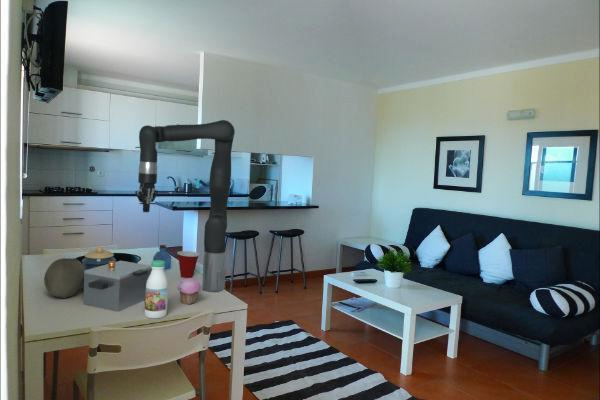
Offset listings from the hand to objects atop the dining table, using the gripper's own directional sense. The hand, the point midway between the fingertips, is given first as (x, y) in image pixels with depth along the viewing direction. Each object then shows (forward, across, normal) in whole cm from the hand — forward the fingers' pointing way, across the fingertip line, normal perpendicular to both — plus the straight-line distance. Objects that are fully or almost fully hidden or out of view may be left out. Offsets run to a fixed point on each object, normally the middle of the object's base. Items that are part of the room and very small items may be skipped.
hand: (146, 212), depth 180 cm
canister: (+33, -11, +14) cm, 38 cm away
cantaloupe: (+33, -26, +16) cm, 45 cm away
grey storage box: (+33, -21, -4) cm, 40 cm away
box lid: (+21, -20, -6) cm, 30 cm away
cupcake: (+33, -9, -29) cm, 45 cm away
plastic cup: (+33, +23, -8) cm, 41 cm away
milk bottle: (+33, -26, -26) cm, 50 cm away
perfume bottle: (+33, +29, +11) cm, 46 cm away
